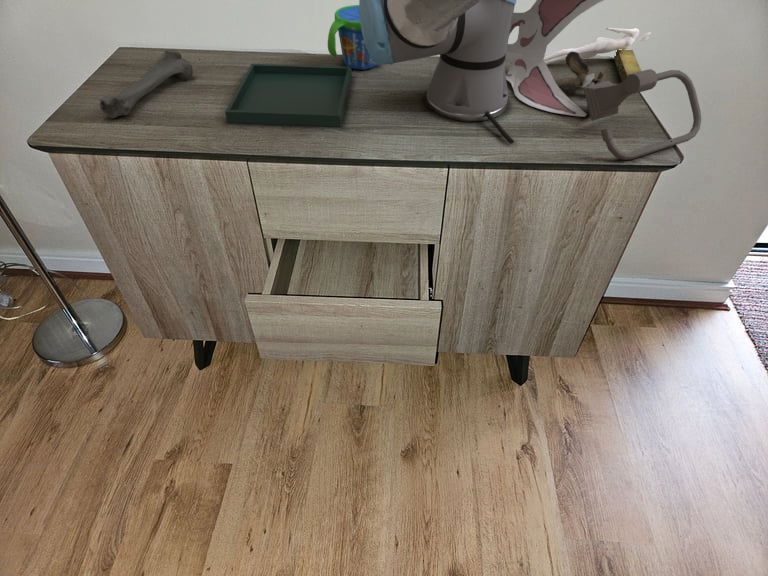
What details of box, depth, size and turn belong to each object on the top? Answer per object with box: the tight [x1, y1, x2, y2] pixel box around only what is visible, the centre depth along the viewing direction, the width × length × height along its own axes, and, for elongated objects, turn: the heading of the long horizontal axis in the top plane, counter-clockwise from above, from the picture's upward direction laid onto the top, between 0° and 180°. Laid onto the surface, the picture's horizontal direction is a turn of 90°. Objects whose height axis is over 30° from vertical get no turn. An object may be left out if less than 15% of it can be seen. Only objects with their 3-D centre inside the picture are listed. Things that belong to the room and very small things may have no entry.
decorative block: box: [613, 49, 642, 83], centre depth 109 cm, size 15×2×4 cm
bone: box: [98, 48, 194, 119], centre depth 98 cm, size 22×6×6 cm, turn 159°
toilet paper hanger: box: [582, 68, 702, 161], centre depth 91 cm, size 22×11×15 cm
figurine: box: [544, 27, 652, 66], centre depth 110 cm, size 10×4×25 cm
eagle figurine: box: [555, 52, 610, 90], centre depth 102 cm, size 8×7×9 cm
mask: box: [505, 0, 604, 118], centre depth 103 cm, size 23×12×30 cm
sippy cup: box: [327, 4, 379, 71], centre depth 108 cm, size 16×10×10 cm
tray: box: [224, 63, 353, 128], centre depth 99 cm, size 20×20×2 cm
